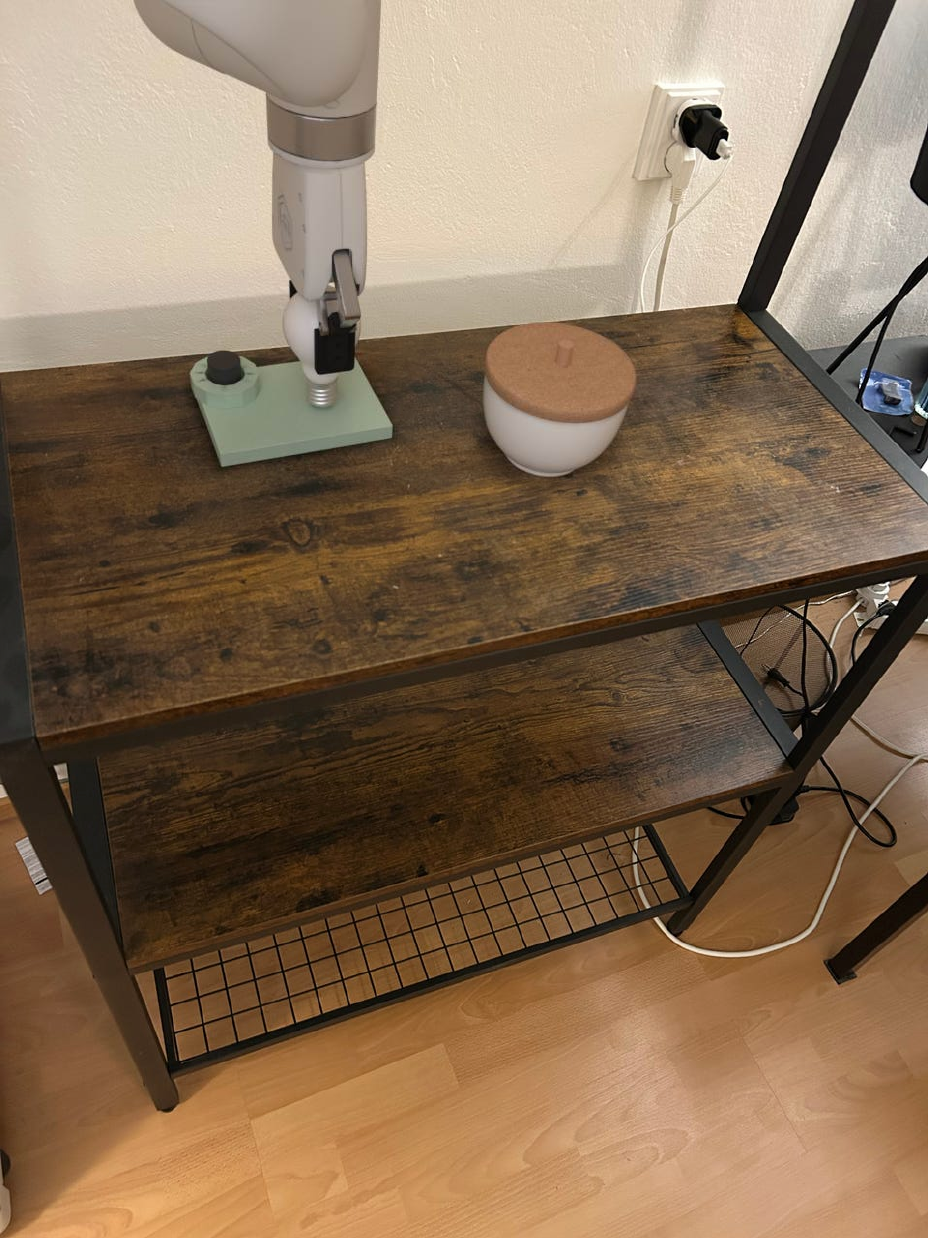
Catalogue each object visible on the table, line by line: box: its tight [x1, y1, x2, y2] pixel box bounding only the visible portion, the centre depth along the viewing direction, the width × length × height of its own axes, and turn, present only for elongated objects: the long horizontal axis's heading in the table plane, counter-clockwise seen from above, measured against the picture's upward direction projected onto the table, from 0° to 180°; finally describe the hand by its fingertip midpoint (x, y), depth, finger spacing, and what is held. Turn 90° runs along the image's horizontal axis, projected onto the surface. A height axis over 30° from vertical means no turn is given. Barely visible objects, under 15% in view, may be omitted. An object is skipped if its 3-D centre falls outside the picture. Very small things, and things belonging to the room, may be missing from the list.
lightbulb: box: [281, 284, 362, 407], centre depth 81 cm, size 6×6×11 cm
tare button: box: [207, 349, 242, 385], centre depth 84 cm, size 3×3×2 cm
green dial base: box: [189, 355, 394, 468], centre depth 85 cm, size 15×11×3 cm
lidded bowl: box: [482, 321, 638, 478], centre depth 82 cm, size 13×13×11 cm
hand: (321, 344), depth 81 cm, fingers closed on lightbulb, 6 cm apart
